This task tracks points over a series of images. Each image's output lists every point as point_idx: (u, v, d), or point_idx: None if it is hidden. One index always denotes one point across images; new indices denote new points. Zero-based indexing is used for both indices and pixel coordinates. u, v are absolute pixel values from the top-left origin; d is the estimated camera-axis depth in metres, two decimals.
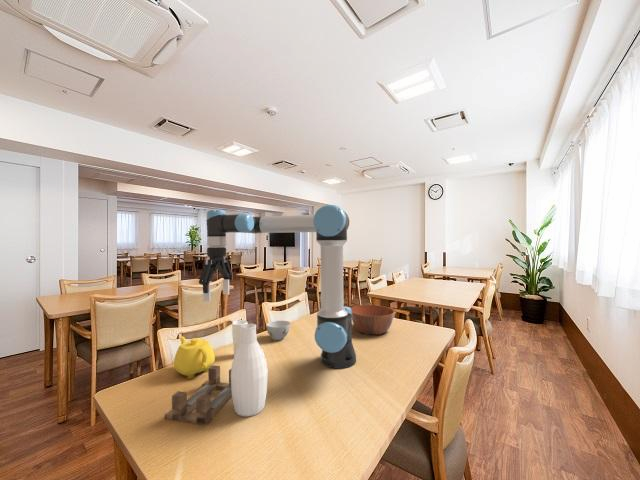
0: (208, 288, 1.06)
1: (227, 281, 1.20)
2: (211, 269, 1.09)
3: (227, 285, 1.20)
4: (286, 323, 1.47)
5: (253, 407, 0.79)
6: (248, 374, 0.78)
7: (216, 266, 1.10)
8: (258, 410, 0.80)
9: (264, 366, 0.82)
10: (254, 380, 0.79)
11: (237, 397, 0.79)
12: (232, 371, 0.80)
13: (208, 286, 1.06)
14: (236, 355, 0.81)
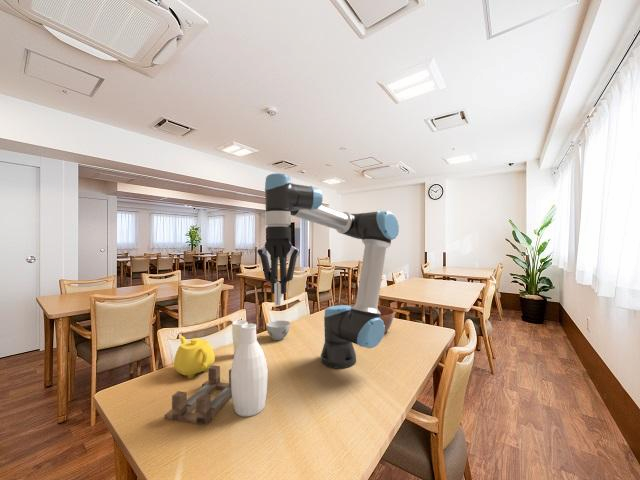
0: None
1: None
2: None
3: None
4: (286, 323, 1.47)
5: (253, 407, 0.79)
6: (248, 374, 0.78)
7: (271, 255, 0.80)
8: (258, 410, 0.80)
9: (264, 366, 0.82)
10: (254, 380, 0.79)
11: (237, 397, 0.79)
12: (232, 371, 0.80)
13: None
14: (236, 355, 0.81)
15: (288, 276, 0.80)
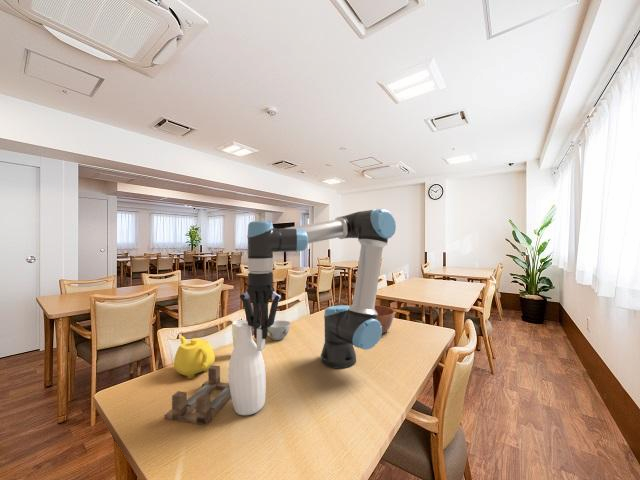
0: (257, 333, 0.82)
1: None
2: None
3: None
4: (286, 323, 1.47)
5: (252, 405, 0.79)
6: (245, 372, 0.79)
7: (253, 300, 0.81)
8: (258, 408, 0.80)
9: (261, 364, 0.82)
10: (251, 378, 0.79)
11: (235, 396, 0.79)
12: (229, 371, 0.81)
13: (257, 330, 0.82)
14: (232, 354, 0.81)
15: (269, 322, 0.81)
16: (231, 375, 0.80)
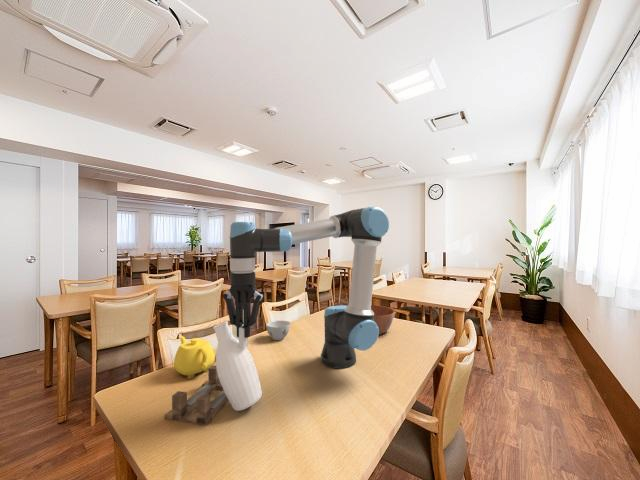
0: (239, 332, 0.83)
1: None
2: None
3: None
4: (286, 323, 1.47)
5: (248, 397, 0.80)
6: (232, 366, 0.80)
7: (236, 300, 0.83)
8: (255, 399, 0.81)
9: (246, 355, 0.84)
10: (239, 370, 0.80)
11: (229, 393, 0.79)
12: (217, 371, 0.82)
13: (239, 329, 0.83)
14: (216, 355, 0.83)
15: (251, 321, 0.82)
16: (219, 374, 0.81)
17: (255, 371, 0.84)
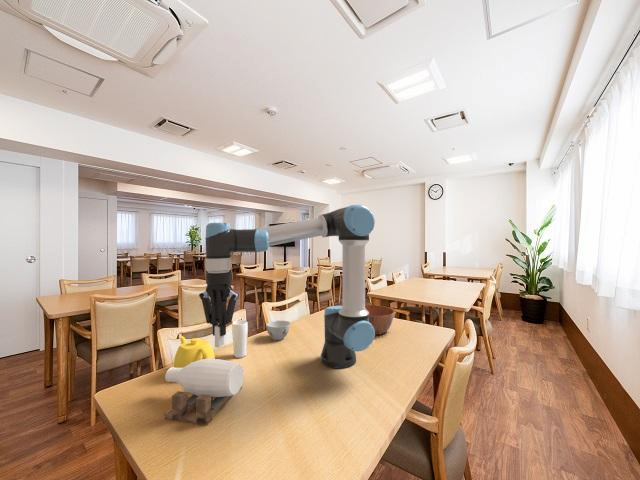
0: (215, 330, 0.85)
1: None
2: None
3: None
4: (286, 323, 1.47)
5: (221, 373, 0.82)
6: (191, 376, 0.84)
7: (211, 299, 0.84)
8: (228, 369, 0.83)
9: (199, 360, 0.88)
10: (197, 371, 0.84)
11: (209, 390, 0.81)
12: (193, 393, 0.84)
13: (215, 328, 0.85)
14: (183, 388, 0.86)
15: (226, 320, 0.84)
16: (194, 392, 0.83)
17: (216, 359, 0.88)
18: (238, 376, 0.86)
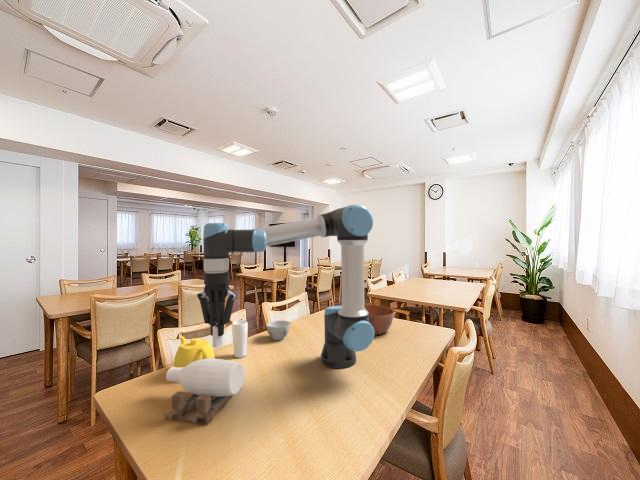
0: (213, 330, 0.85)
1: None
2: None
3: None
4: (286, 323, 1.47)
5: (222, 372, 0.83)
6: (192, 374, 0.84)
7: (209, 299, 0.85)
8: (229, 368, 0.84)
9: (200, 360, 0.89)
10: (199, 369, 0.85)
11: (209, 388, 0.82)
12: (193, 392, 0.84)
13: (213, 328, 0.85)
14: (184, 387, 0.86)
15: (224, 320, 0.84)
16: (194, 390, 0.83)
17: (217, 359, 0.89)
18: (239, 376, 0.86)
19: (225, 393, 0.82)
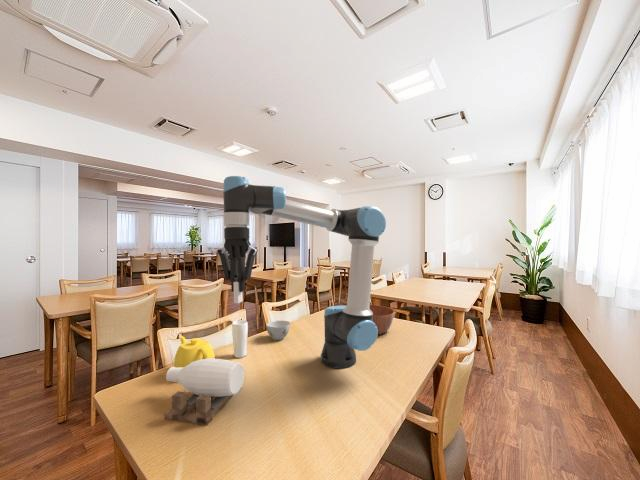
0: (234, 286, 0.84)
1: None
2: None
3: None
4: (286, 323, 1.47)
5: (222, 372, 0.83)
6: (192, 374, 0.84)
7: (230, 254, 0.83)
8: (229, 368, 0.84)
9: (200, 360, 0.89)
10: (199, 369, 0.85)
11: (209, 388, 0.82)
12: (193, 392, 0.84)
13: (234, 284, 0.84)
14: (184, 387, 0.86)
15: (245, 275, 0.83)
16: (194, 390, 0.83)
17: (217, 359, 0.89)
18: (239, 376, 0.86)
19: (225, 393, 0.82)
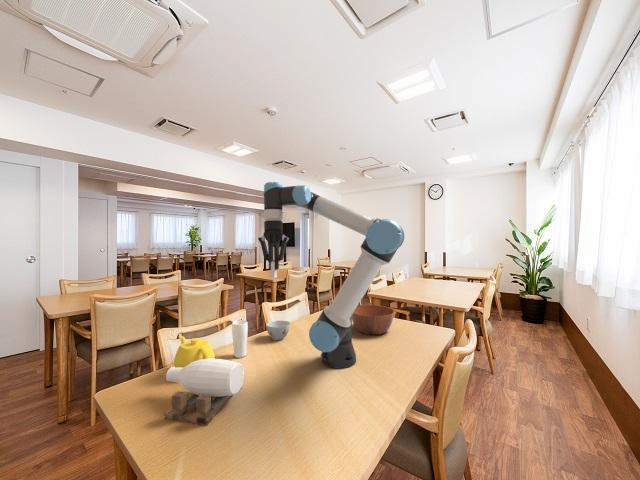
0: (271, 265, 1.11)
1: None
2: None
3: None
4: (286, 323, 1.47)
5: (222, 372, 0.83)
6: (192, 374, 0.84)
7: (268, 241, 1.10)
8: (229, 368, 0.84)
9: (200, 360, 0.89)
10: (199, 369, 0.85)
11: (209, 388, 0.82)
12: (193, 392, 0.84)
13: (271, 263, 1.11)
14: (184, 387, 0.86)
15: (280, 256, 1.10)
16: (194, 390, 0.83)
17: (217, 359, 0.89)
18: (239, 376, 0.86)
19: (225, 393, 0.82)
